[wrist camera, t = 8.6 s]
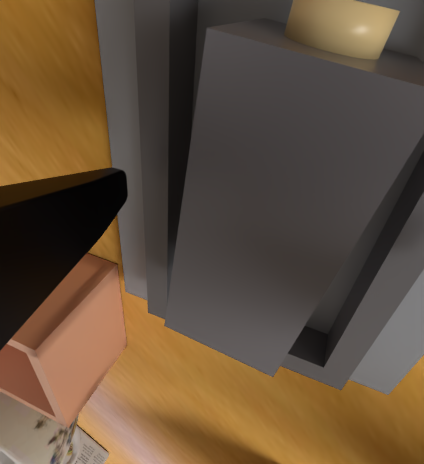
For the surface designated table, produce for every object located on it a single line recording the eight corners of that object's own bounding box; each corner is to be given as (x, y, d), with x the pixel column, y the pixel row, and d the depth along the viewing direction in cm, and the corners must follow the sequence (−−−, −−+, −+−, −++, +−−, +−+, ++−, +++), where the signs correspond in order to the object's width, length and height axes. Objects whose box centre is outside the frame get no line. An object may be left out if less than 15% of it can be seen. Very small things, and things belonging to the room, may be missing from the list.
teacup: (-24, 311, 31) (-119, 386, 25) (52, 306, 25) (-52, 406, 18) (67, 407, 37) (8, 486, 31) (147, 423, 30) (92, 528, 24)
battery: (294, 293, 14) (273, 377, 11) (207, 256, 14) (164, 325, 11) (438, 19, 7) (486, 32, 4) (272, -20, 8) (215, -31, 5)
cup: (127, 344, 23) (68, 428, 19) (38, 306, 25) (-34, 373, 21) (117, 264, 18) (34, 350, 14) (8, 224, 20) (-95, 288, 16)
